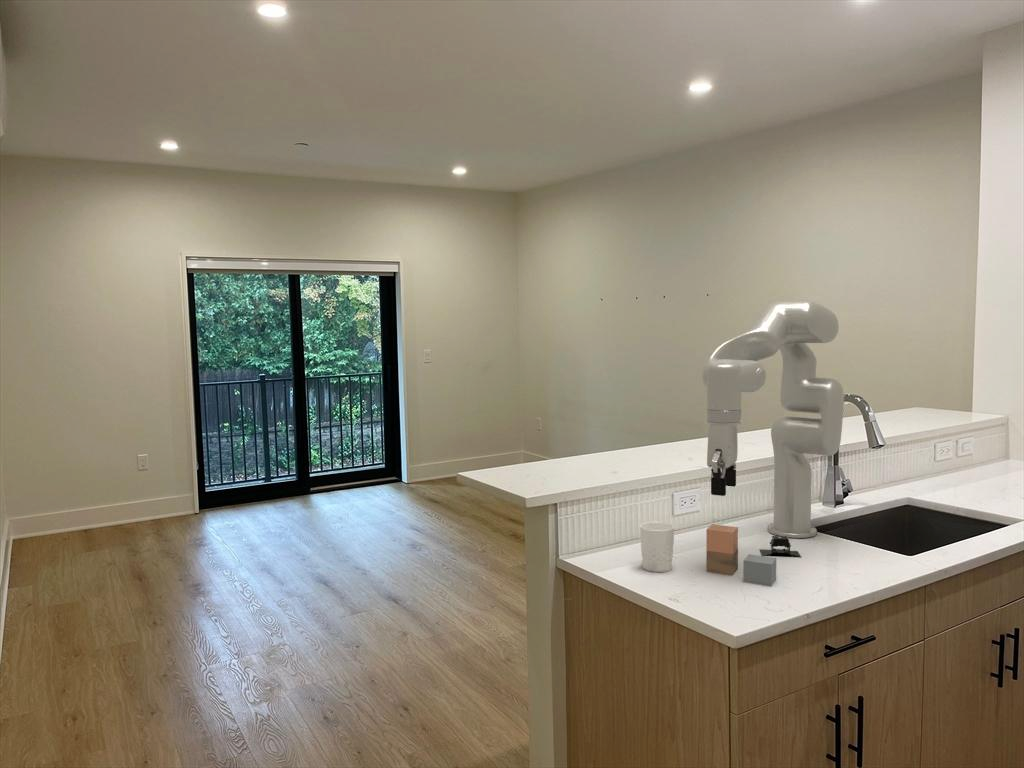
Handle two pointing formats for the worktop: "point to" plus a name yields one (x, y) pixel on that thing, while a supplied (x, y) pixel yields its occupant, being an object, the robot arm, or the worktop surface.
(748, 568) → the slate grey block
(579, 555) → the worktop surface
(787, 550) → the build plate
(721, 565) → the walnut block
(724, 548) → the terracotta block
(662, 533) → the white cup
